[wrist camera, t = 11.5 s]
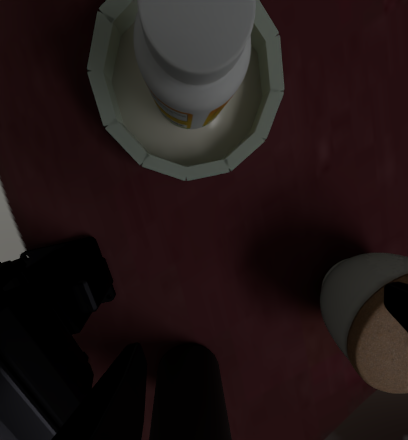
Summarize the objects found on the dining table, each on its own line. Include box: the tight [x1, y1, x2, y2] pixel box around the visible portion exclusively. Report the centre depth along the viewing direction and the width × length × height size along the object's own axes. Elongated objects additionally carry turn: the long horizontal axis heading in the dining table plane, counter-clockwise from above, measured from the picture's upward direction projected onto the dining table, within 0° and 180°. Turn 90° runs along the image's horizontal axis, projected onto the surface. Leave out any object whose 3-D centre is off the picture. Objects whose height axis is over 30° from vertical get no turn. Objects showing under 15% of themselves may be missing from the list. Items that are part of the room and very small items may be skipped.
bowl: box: [87, 0, 284, 181], centre depth 16 cm, size 13×13×2 cm
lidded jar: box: [320, 253, 408, 393], centre depth 19 cm, size 11×11×9 cm
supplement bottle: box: [134, 0, 256, 129], centre depth 12 cm, size 5×5×10 cm
